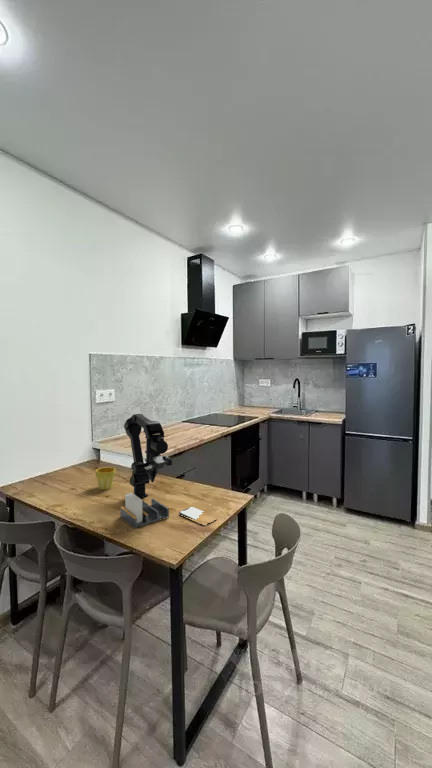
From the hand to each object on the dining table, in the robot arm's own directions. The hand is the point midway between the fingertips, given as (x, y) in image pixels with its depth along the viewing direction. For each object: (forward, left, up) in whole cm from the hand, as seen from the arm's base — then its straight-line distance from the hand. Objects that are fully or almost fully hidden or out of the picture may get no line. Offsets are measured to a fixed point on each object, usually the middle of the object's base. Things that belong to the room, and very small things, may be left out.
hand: (152, 481), depth 149 cm
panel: (+7, -13, -11) cm, 18 cm away
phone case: (+22, +10, -12) cm, 27 cm away
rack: (+7, -8, -12) cm, 16 cm away
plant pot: (-38, -8, -12) cm, 40 cm away
